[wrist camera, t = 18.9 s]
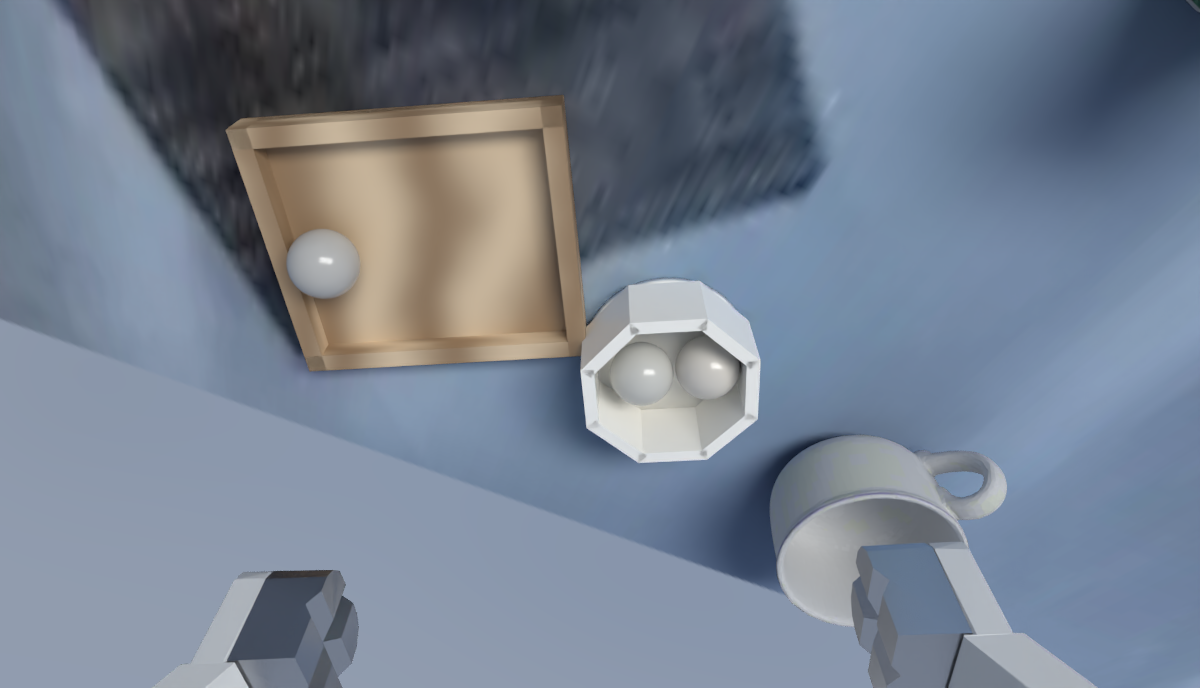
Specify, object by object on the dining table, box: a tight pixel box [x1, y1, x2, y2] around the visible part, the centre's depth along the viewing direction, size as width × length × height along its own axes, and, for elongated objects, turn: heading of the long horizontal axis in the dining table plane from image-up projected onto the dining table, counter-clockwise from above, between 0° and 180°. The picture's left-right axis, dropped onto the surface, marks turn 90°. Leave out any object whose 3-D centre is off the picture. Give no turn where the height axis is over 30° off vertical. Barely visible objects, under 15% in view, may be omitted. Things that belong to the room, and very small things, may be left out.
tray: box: [226, 95, 587, 371], centre depth 40 cm, size 16×14×2 cm
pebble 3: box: [675, 335, 740, 400], centre depth 42 cm, size 4×4×4 cm
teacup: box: [770, 435, 1007, 627], centre depth 46 cm, size 14×11×8 cm
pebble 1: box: [286, 229, 361, 299], centre depth 39 cm, size 4×4×4 cm
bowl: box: [580, 278, 760, 463], centre depth 42 cm, size 9×9×5 cm
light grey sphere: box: [610, 342, 674, 406], centre depth 42 cm, size 4×4×4 cm
